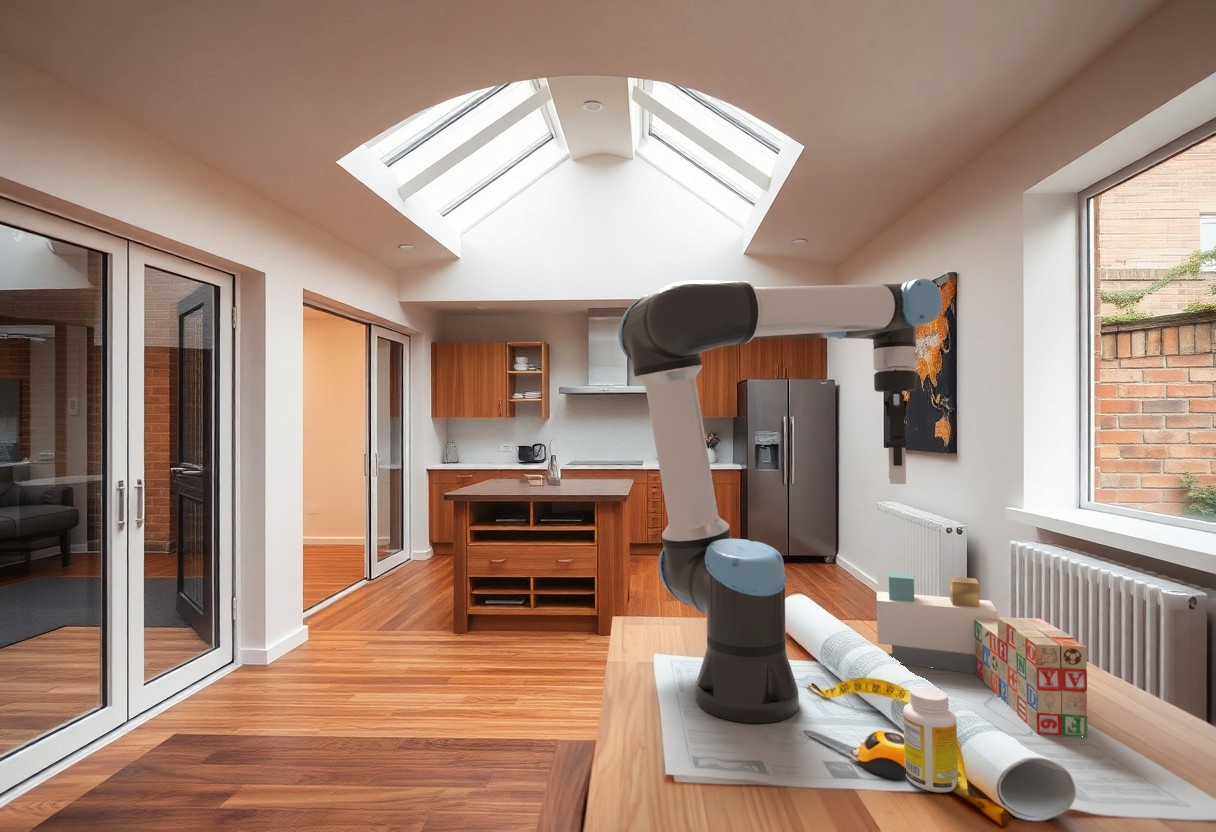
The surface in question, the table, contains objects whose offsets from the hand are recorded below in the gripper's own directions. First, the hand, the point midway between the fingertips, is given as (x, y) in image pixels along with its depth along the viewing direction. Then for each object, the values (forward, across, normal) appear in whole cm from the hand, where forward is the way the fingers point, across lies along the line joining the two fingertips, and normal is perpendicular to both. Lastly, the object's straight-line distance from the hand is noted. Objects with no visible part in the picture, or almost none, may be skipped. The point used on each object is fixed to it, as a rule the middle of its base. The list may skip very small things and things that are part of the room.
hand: (897, 481), depth 124 cm
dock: (+31, -9, -6) cm, 32 cm away
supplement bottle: (+31, -52, -2) cm, 61 cm away
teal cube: (+20, -9, 0) cm, 22 cm away
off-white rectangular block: (+28, -9, -5) cm, 30 cm away
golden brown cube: (+20, -9, -10) cm, 24 cm away
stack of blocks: (+31, -23, -16) cm, 42 cm away
